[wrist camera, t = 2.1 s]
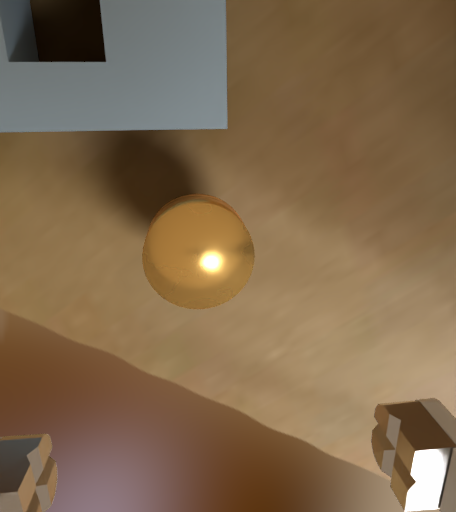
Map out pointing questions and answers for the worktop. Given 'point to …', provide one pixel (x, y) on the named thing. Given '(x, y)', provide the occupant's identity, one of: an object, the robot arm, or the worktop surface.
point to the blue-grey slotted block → (120, 71)
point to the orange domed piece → (197, 252)
